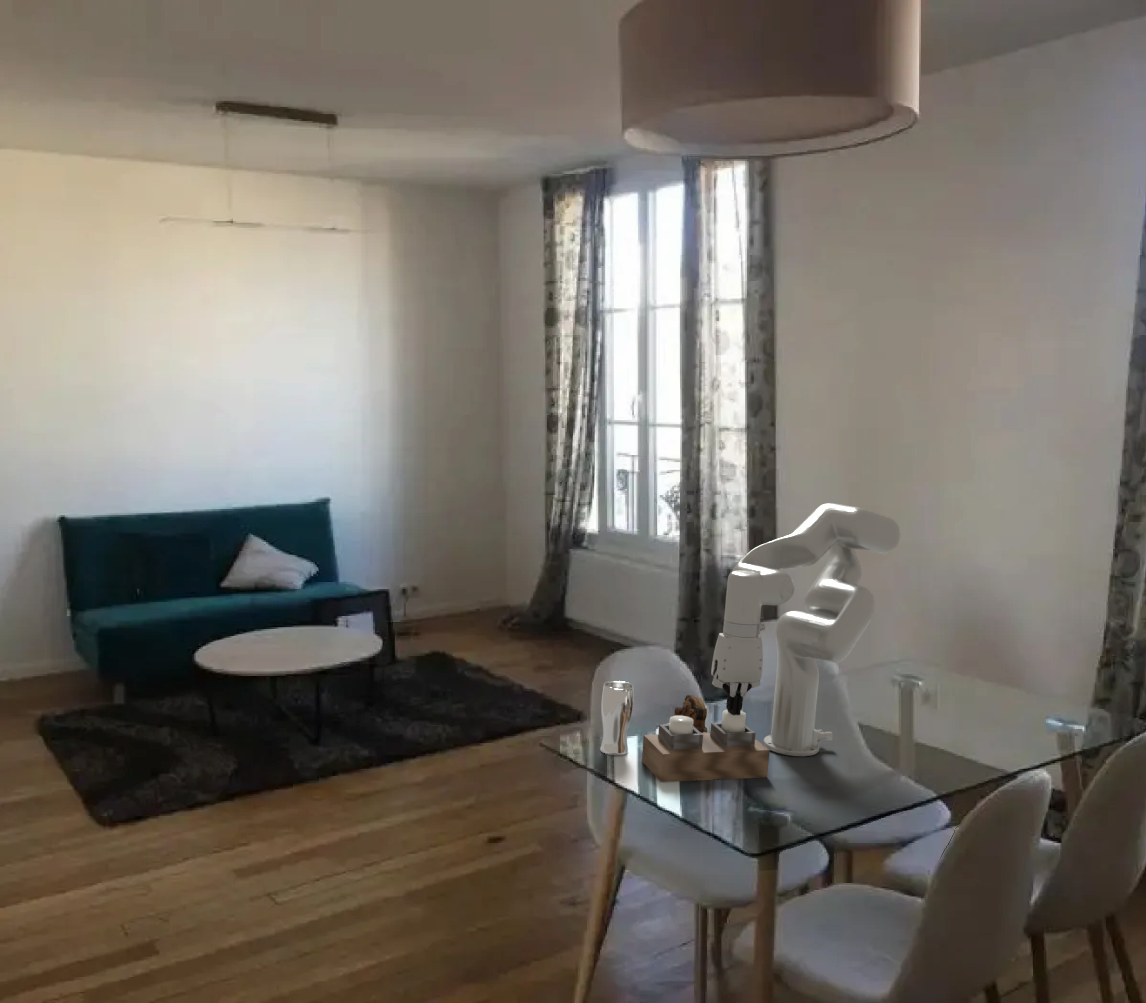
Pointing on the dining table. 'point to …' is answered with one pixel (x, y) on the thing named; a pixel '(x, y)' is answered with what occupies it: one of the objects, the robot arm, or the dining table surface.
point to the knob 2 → (733, 722)
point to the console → (705, 755)
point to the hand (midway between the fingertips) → (733, 713)
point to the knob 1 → (681, 725)
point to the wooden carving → (694, 712)
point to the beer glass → (616, 716)
